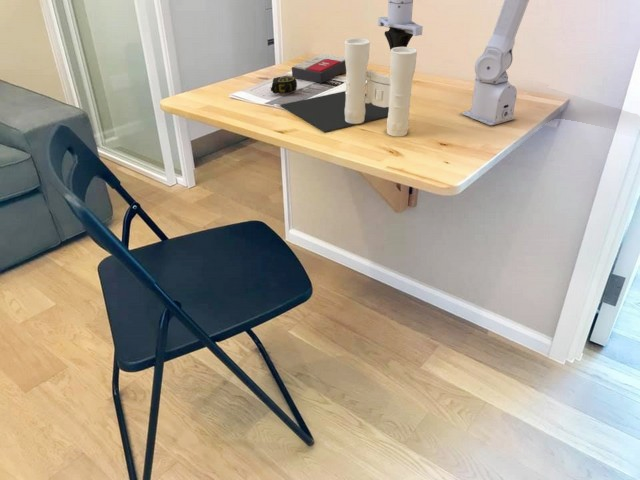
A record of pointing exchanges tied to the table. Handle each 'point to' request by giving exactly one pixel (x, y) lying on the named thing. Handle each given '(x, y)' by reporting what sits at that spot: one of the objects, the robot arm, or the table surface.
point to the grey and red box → (319, 68)
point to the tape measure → (284, 84)
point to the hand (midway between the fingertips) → (397, 61)
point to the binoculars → (379, 85)
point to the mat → (331, 111)
